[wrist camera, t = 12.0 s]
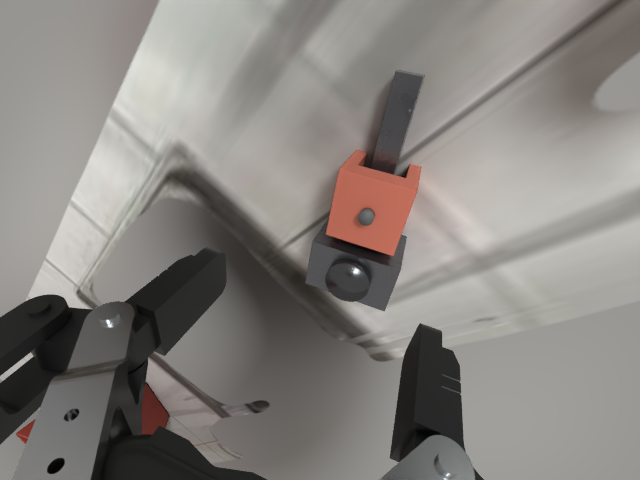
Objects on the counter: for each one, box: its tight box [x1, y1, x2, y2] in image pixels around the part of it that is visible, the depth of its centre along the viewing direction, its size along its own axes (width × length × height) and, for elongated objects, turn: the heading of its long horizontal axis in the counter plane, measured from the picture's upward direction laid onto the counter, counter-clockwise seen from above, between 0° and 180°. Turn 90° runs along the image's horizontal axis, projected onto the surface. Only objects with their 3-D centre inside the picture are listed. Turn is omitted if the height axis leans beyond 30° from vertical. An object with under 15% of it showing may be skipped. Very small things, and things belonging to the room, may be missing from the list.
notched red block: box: [326, 150, 421, 256], centre depth 27 cm, size 6×6×7 cm
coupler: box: [305, 70, 425, 311], centre depth 26 cm, size 19×8×7 cm, turn 170°
